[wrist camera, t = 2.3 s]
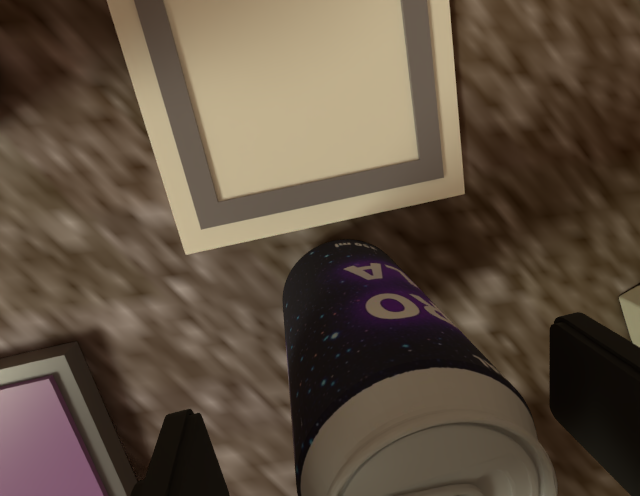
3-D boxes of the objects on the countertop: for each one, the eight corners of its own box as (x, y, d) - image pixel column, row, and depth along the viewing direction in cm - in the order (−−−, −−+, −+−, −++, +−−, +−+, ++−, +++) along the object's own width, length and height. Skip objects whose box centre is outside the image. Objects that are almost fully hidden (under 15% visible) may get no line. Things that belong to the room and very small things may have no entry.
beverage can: (400, 333, 20) (567, 591, 9) (290, 351, 20) (319, 647, 8) (393, 226, 19) (588, 374, 7) (273, 243, 18) (280, 430, 7)
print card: (433, -148, 15) (438, -157, 14) (461, 193, 19) (466, 194, 18) (80, -91, 14) (74, -99, 13) (187, 252, 18) (184, 255, 17)
